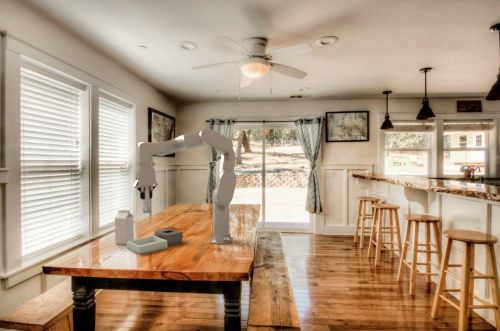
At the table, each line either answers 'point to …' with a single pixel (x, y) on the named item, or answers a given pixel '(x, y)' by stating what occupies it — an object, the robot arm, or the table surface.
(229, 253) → the table surface
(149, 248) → the tray
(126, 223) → the milk carton
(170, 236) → the hitch block
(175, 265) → the table surface
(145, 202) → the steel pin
